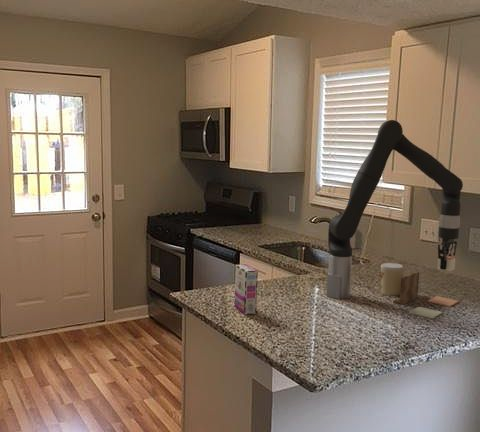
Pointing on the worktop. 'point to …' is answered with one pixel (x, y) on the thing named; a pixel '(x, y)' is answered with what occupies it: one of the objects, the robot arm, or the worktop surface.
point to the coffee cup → (391, 278)
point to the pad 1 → (426, 312)
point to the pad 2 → (443, 301)
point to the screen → (408, 288)
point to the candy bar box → (246, 289)
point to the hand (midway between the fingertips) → (445, 267)
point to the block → (448, 263)
